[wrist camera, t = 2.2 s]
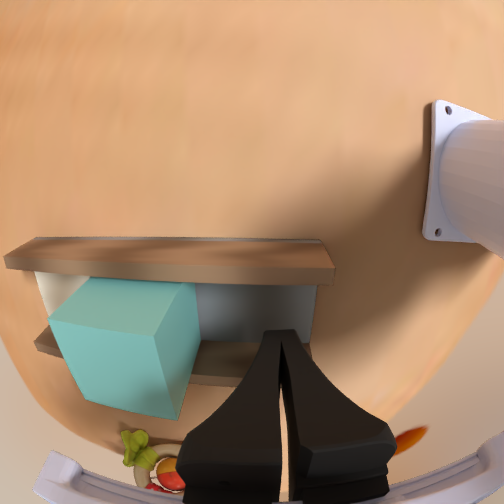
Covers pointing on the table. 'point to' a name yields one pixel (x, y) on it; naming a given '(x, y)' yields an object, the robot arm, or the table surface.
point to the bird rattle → (152, 462)
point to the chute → (206, 286)
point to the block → (130, 342)
